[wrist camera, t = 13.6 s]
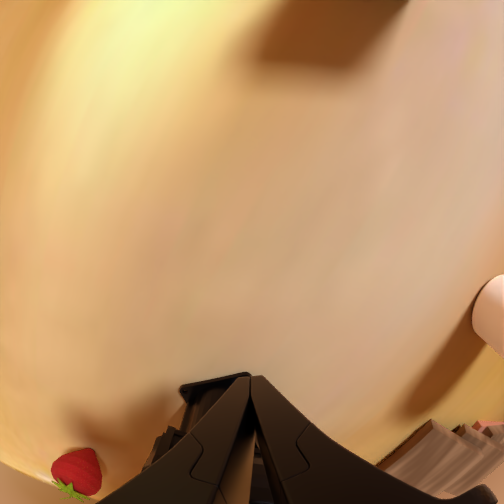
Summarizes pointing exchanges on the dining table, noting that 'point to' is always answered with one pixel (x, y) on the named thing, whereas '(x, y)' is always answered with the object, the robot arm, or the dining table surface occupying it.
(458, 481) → the tile
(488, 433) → the tile
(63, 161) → the dining table surface
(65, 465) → the strawberry
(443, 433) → the tile
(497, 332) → the can
